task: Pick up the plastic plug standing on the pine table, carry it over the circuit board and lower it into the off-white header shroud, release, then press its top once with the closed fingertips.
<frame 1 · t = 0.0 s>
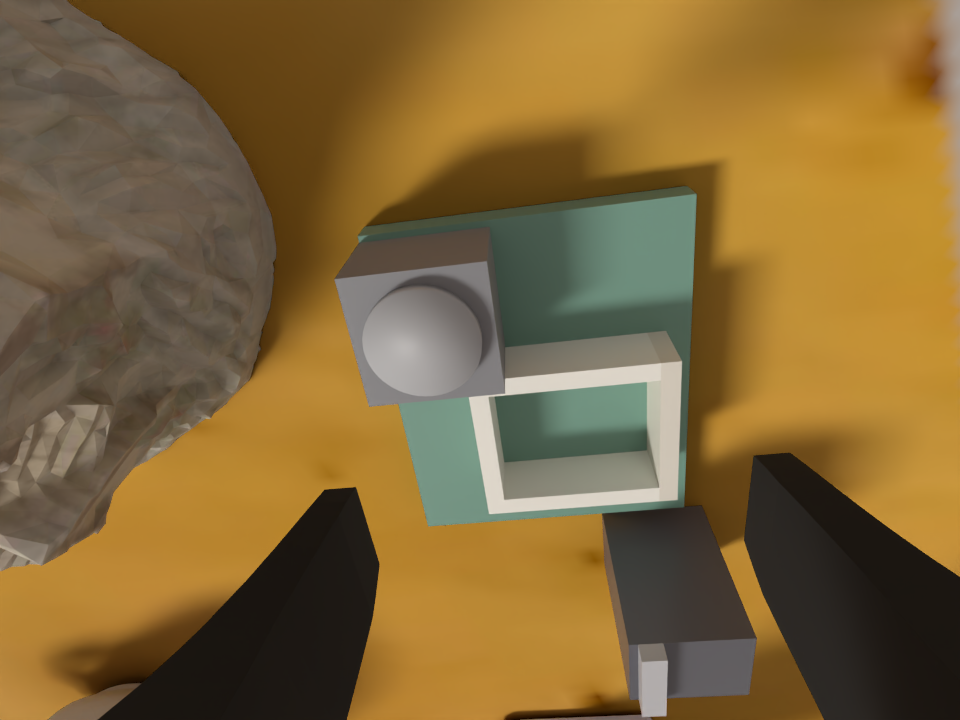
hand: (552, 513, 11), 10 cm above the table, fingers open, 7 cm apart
grey jagged lump: (36, 234, 20), on the table
board: (538, 372, 21), on the table
plug: (651, 535, 25), on the table
teacup: (137, 705, 33), on the table
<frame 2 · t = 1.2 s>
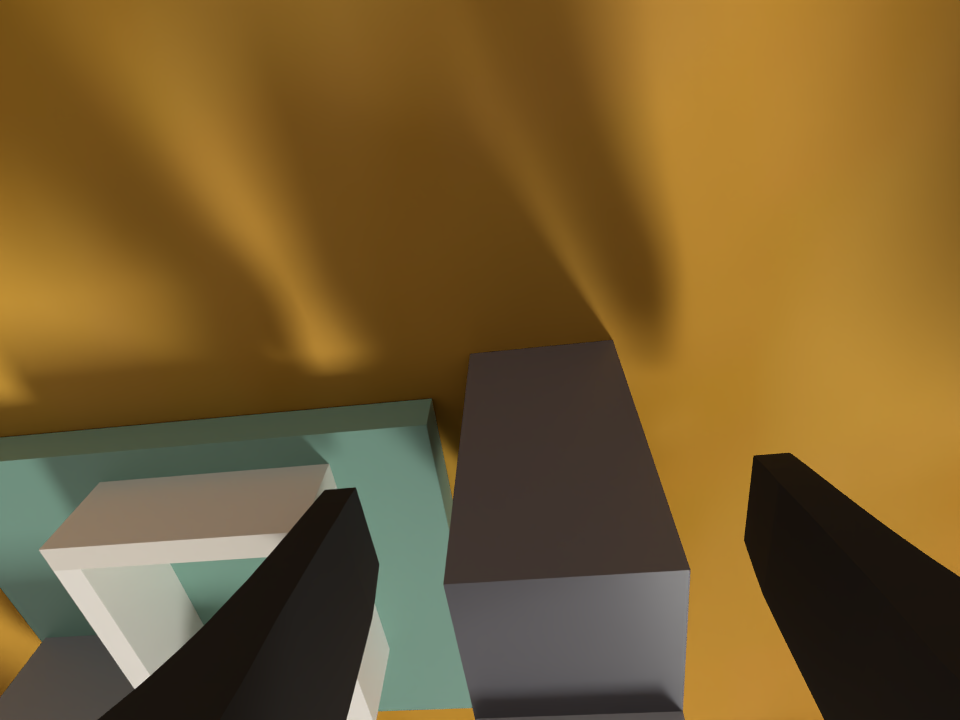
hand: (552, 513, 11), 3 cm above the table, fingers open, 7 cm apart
board: (247, 571, 16), on the table
plug: (547, 424, 13), on the table
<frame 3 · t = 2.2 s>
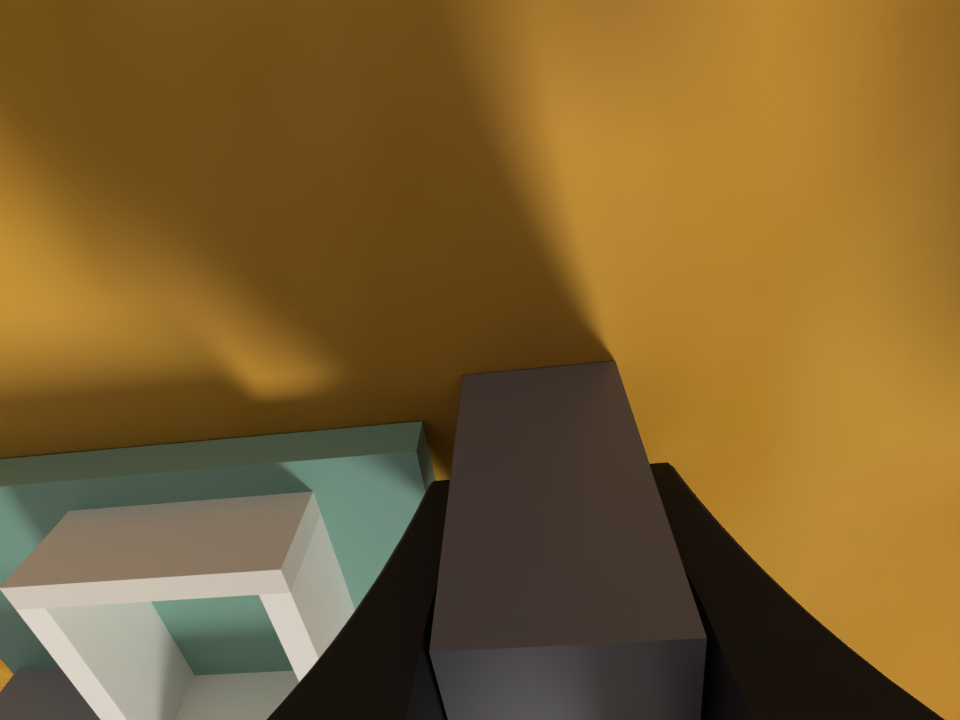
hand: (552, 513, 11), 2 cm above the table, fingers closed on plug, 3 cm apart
board: (230, 599, 15), on the table
plug: (546, 448, 13), on the table, touching gripper
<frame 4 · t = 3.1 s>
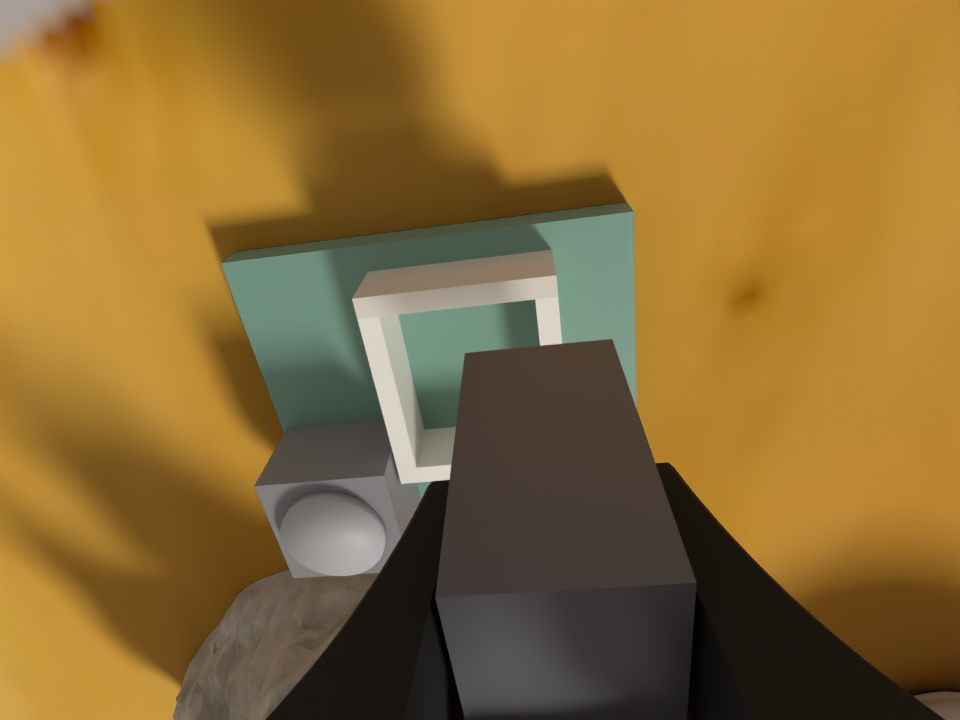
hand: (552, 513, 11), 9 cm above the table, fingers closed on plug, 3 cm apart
grey jagged lump: (364, 674, 29), on the table
board: (450, 371, 20), on the table
plug: (545, 425, 13), point 7 cm above the table, touching gripper
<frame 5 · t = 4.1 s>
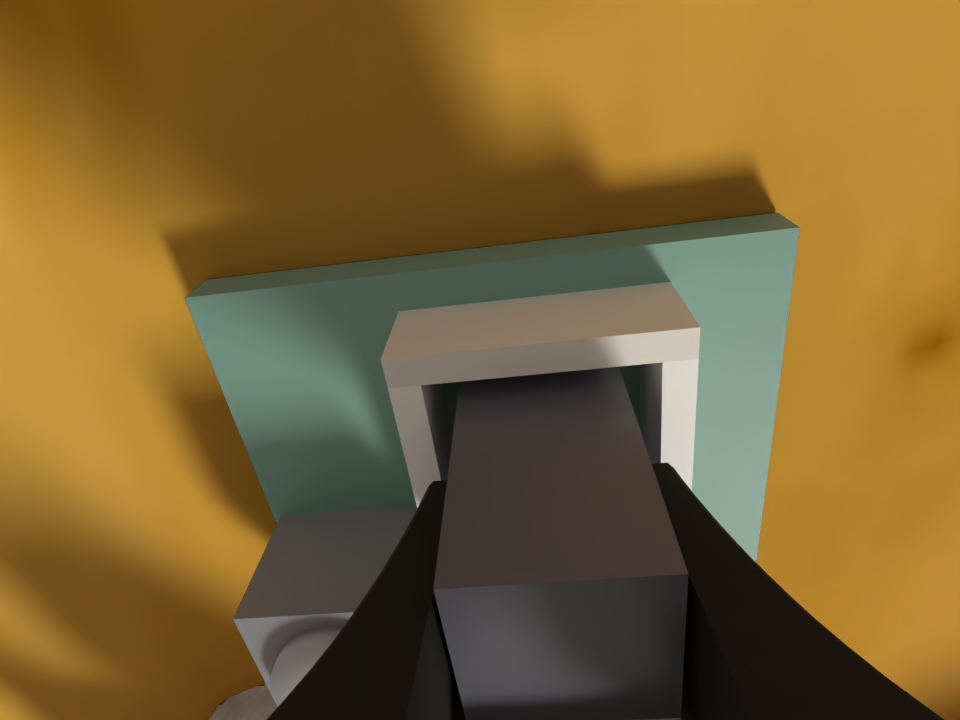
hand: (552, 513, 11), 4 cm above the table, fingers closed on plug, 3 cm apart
board: (505, 440, 15), on the table
plug: (543, 423, 13), point 1 cm above the table, touching gripper
when the fingers open (4 cm above the table, at t = 4.4 s): plug stays where it is, resting on board.
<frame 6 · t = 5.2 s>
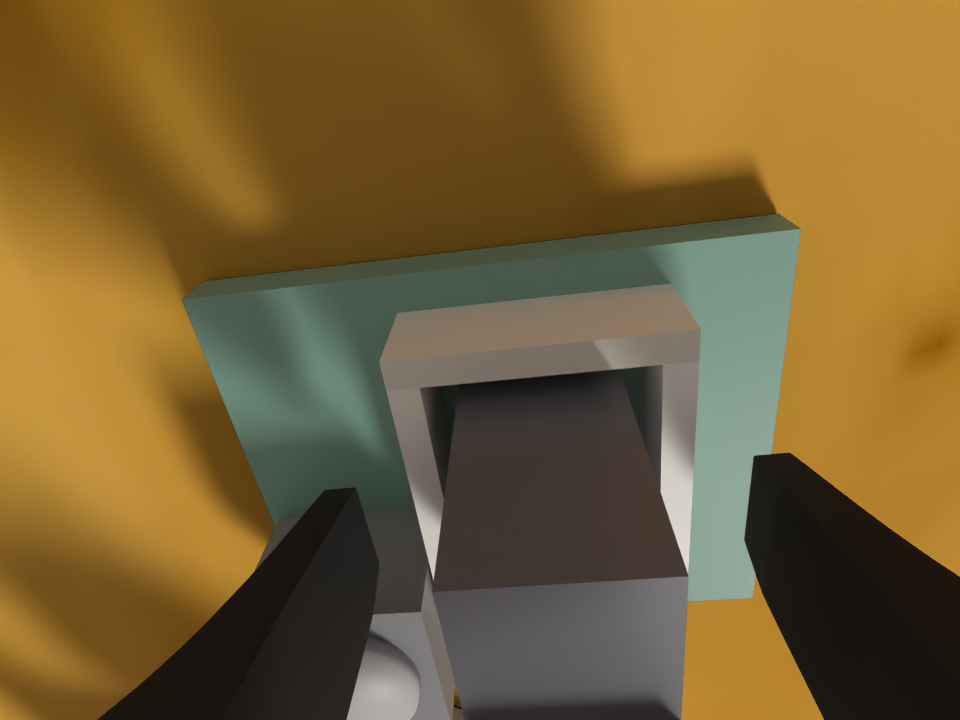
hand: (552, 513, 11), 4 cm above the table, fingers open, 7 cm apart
board: (504, 442, 15), on the table
plug: (543, 424, 13), point 1 cm above the table, touching board
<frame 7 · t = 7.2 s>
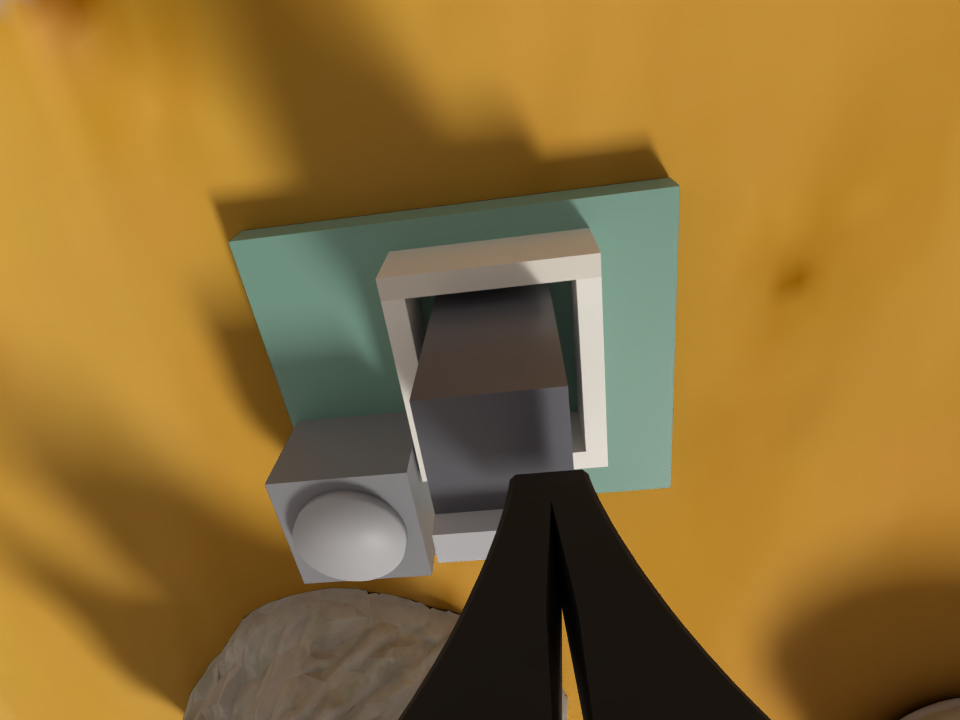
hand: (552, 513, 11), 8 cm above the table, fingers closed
grey jagged lump: (373, 698, 29), on the table
board: (473, 361, 19), on the table
plug: (500, 340, 17), point 1 cm above the table, touching board
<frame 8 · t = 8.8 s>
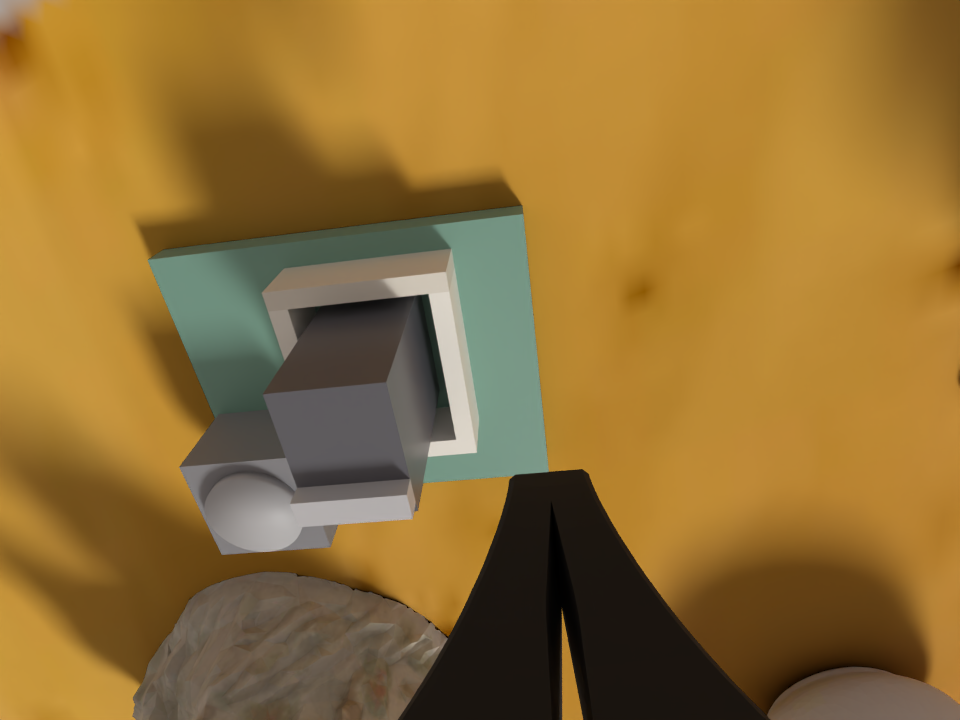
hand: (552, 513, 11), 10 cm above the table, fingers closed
grey jagged lump: (313, 673, 32), on the table
board: (371, 361, 22), on the table
plug: (386, 344, 20), point 1 cm above the table, touching board
teacup: (819, 714, 31), on the table
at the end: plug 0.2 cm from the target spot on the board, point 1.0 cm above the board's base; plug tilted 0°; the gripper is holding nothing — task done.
